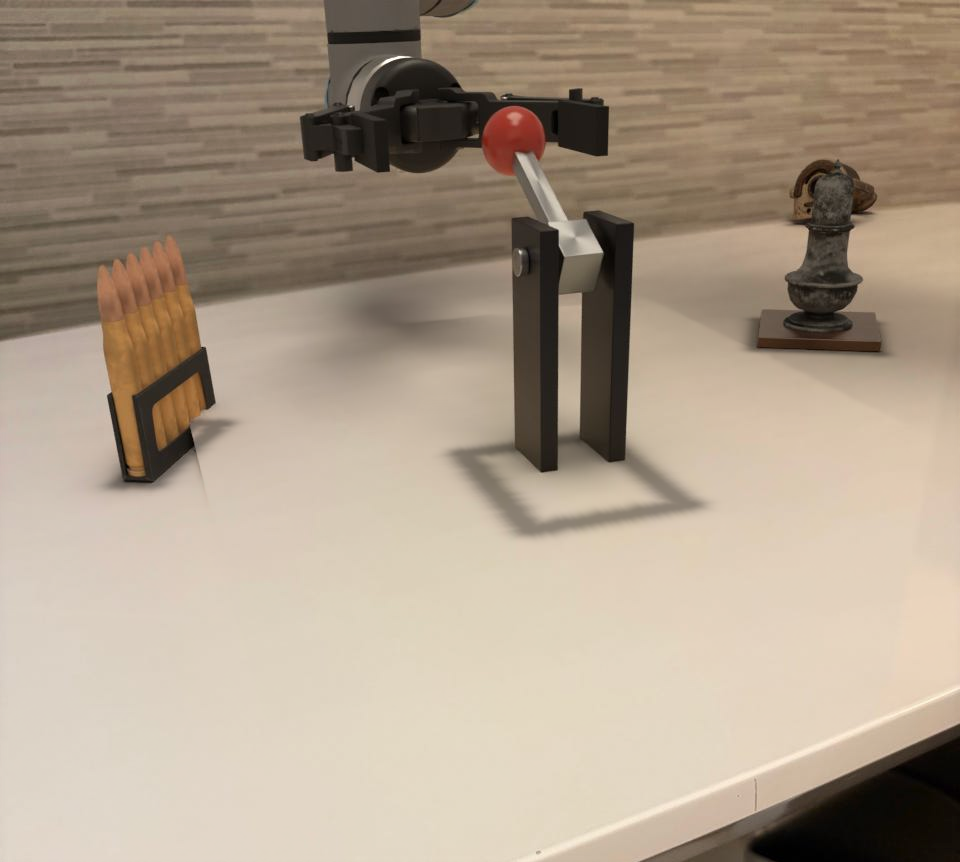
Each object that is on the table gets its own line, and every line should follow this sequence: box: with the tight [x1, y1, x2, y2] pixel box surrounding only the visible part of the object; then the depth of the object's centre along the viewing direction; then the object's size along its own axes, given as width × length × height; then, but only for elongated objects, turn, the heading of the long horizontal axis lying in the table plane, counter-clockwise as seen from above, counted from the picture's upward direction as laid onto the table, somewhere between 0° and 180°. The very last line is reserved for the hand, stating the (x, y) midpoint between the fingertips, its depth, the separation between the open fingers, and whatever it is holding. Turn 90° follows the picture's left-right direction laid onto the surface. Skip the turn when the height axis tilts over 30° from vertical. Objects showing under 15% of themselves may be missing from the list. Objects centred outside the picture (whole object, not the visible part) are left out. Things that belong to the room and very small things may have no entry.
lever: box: [481, 106, 604, 296], centre depth 58 cm, size 13×4×4 cm, turn 18°
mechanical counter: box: [789, 157, 878, 222], centre depth 128 cm, size 7×13×10 cm
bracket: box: [510, 209, 635, 474], centre depth 58 cm, size 12×9×14 cm
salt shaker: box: [783, 158, 864, 332], centre depth 82 cm, size 6×6×12 cm
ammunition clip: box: [96, 234, 216, 482], centre depth 64 cm, size 11×2×12 cm, turn 170°
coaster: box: [757, 308, 883, 352], centre depth 86 cm, size 9×9×1 cm
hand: (495, 139), depth 63 cm, fingers open, 13 cm apart
